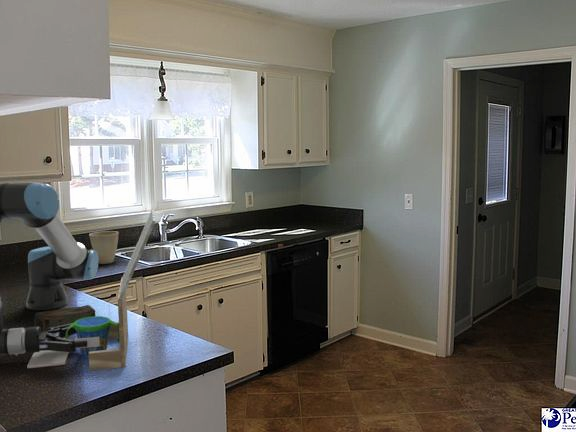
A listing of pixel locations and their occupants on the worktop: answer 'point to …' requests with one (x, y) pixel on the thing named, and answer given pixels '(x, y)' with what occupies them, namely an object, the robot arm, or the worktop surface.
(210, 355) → the worktop surface
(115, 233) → the plant pot
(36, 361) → the paving slab
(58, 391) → the worktop surface
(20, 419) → the worktop surface
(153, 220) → the tan tall piece
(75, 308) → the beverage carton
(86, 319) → the snack cup
